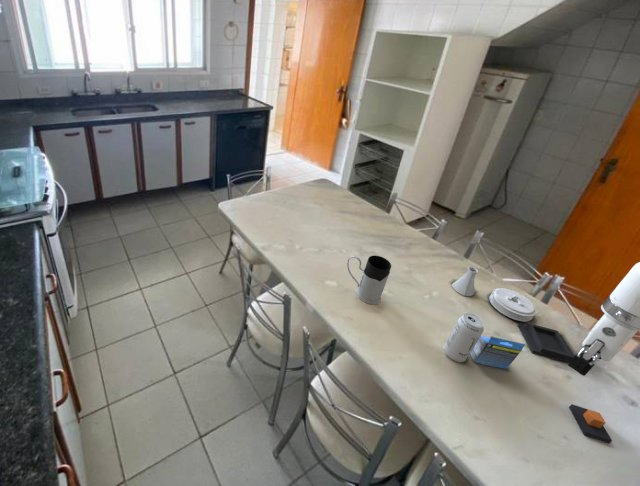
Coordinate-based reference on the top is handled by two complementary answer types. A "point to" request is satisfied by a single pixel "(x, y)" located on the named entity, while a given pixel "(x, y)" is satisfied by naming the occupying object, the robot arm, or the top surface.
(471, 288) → the flask
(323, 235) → the top surface
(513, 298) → the lid
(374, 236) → the top surface
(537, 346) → the black shallow tray
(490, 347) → the label tape box
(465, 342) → the energy drink can
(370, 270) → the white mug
